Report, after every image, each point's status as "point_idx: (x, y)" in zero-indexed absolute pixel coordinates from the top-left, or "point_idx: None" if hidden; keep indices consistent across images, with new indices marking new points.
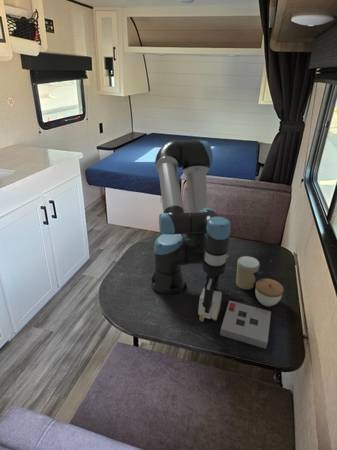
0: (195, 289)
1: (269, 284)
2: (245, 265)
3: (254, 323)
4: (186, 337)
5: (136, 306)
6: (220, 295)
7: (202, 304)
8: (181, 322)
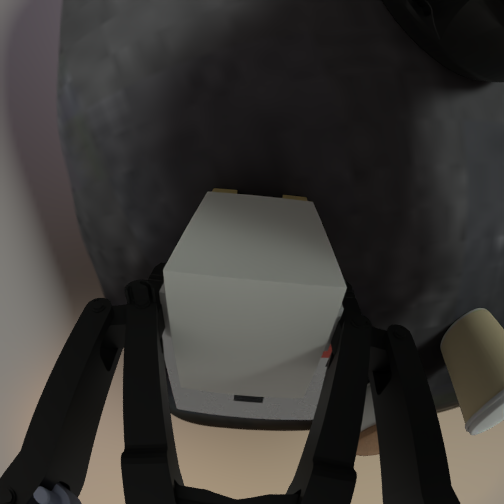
0: (454, 139)
1: None
2: (493, 412)
3: None
4: (90, 158)
5: None
6: (264, 395)
7: (133, 284)
8: (165, 100)
